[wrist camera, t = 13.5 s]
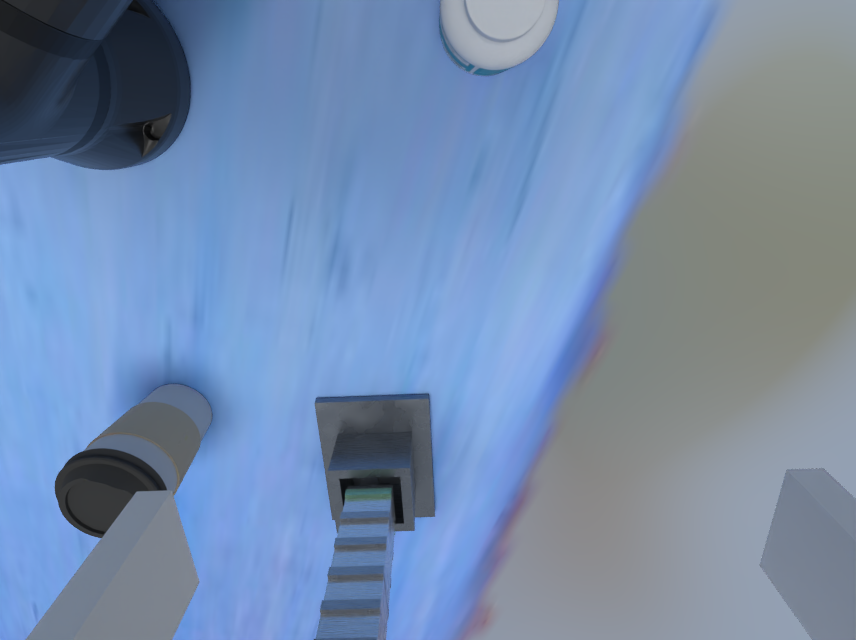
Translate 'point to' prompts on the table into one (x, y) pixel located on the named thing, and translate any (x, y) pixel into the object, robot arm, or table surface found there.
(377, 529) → the column
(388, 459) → the stand
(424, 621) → the table surface
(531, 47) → the pill bottle
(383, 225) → the table surface
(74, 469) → the coffee cup
